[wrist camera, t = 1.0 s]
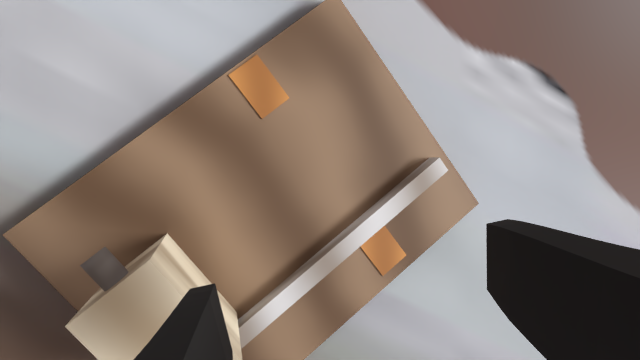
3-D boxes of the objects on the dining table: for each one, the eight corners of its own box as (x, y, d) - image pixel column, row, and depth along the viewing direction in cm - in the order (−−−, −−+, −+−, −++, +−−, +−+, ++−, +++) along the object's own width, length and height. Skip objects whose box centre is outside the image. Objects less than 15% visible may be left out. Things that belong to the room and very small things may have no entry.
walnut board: (209, 427, 25) (208, 459, 23) (16, 229, 22) (-11, 239, 20) (465, 200, 29) (490, 205, 26) (329, 1, 26) (341, -16, 23)
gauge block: (197, 378, 23) (190, 451, 18) (85, 260, 22) (37, 298, 16) (253, 330, 24) (264, 386, 18) (148, 212, 22) (124, 231, 16)
